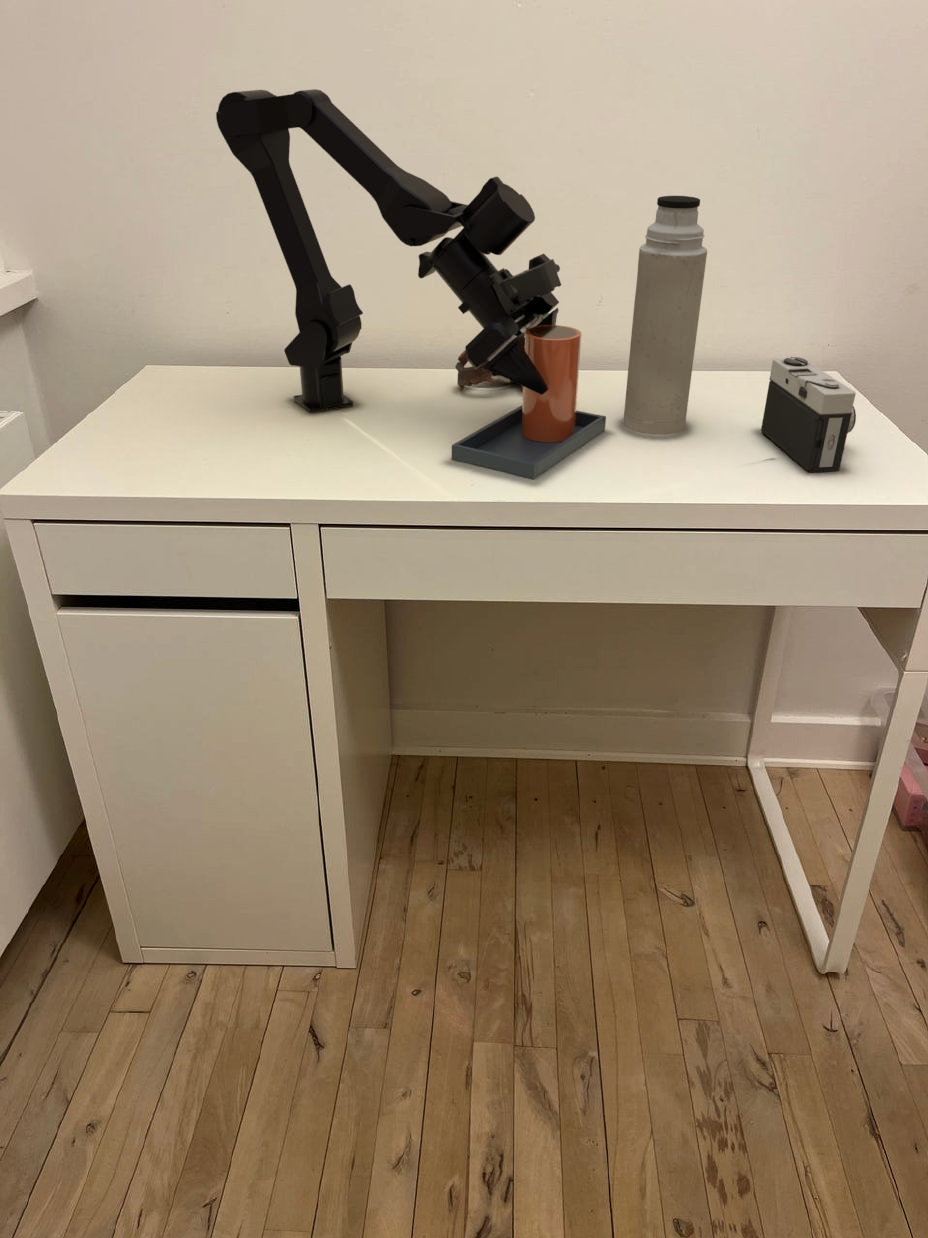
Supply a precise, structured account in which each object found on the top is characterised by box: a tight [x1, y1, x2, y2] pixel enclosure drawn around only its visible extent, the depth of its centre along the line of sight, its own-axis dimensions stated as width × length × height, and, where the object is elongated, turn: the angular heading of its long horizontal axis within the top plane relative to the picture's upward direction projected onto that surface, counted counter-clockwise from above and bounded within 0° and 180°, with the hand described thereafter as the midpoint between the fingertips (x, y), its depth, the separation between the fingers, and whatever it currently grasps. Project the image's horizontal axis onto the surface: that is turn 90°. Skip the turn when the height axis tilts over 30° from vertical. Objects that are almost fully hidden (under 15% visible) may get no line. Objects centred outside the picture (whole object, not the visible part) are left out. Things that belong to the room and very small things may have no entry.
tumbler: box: [521, 324, 582, 443], centre depth 121 cm, size 7×7×13 cm
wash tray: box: [451, 405, 607, 480], centre depth 121 cm, size 19×11×2 cm, turn 148°
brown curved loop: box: [454, 350, 523, 392], centre depth 141 cm, size 12×10×8 cm
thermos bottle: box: [622, 195, 708, 436], centre depth 121 cm, size 8×8×28 cm
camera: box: [760, 356, 857, 473], centre depth 119 cm, size 14×8×10 cm, turn 9°
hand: (557, 381), depth 121 cm, fingers open, 9 cm apart
